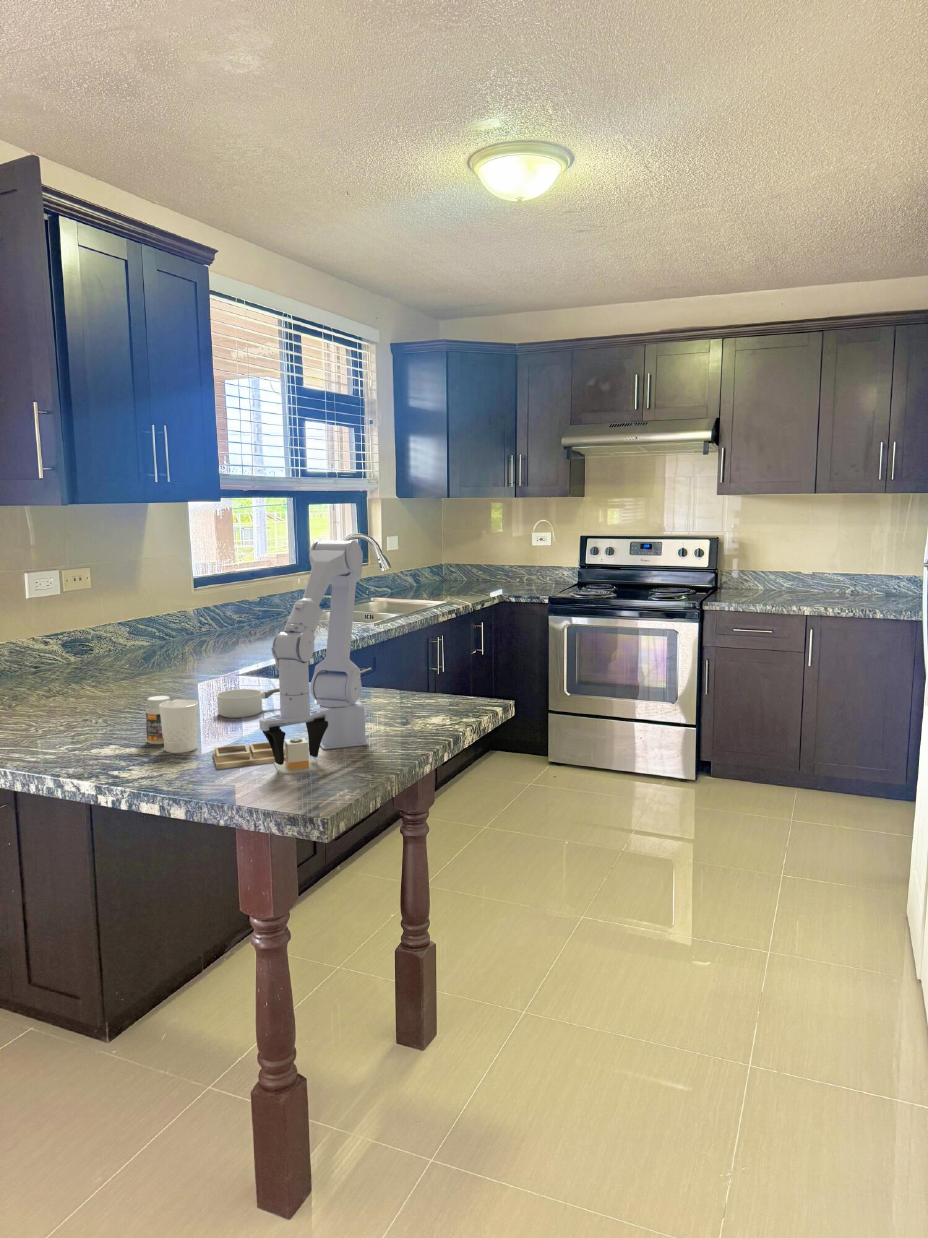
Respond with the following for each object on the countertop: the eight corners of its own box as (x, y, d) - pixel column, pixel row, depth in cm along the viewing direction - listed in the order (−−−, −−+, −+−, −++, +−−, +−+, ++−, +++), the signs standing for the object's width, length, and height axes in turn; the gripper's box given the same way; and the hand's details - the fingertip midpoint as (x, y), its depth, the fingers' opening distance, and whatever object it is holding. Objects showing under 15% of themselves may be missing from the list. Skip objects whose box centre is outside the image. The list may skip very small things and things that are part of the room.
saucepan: (302, 711, 215) (301, 690, 214) (225, 723, 204) (224, 700, 203) (284, 703, 224) (283, 682, 224) (210, 714, 213) (209, 692, 212)
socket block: (280, 748, 181) (280, 738, 180) (288, 761, 171) (287, 750, 171) (212, 755, 176) (212, 745, 175) (216, 769, 166) (216, 758, 166)
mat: (313, 759, 172) (313, 758, 172) (321, 771, 165) (321, 769, 165) (273, 764, 169) (273, 762, 169) (279, 775, 162) (279, 773, 162)
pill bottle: (146, 746, 184) (143, 701, 182) (148, 739, 189) (145, 696, 188) (173, 743, 185) (171, 699, 184) (174, 737, 191) (172, 694, 189)
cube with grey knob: (305, 761, 170) (304, 736, 169) (308, 767, 166) (308, 741, 165) (285, 764, 168) (284, 738, 167) (288, 769, 164) (287, 743, 164)
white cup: (204, 743, 185) (202, 699, 184) (194, 754, 177) (192, 707, 176) (168, 744, 185) (165, 699, 184) (156, 754, 177) (154, 708, 176)
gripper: (316, 684, 173) (318, 748, 174) (251, 694, 163) (253, 762, 165) (334, 689, 167) (336, 755, 169) (268, 700, 158) (270, 770, 160)
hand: (296, 759), depth 167 cm, fingers open, 7 cm apart
